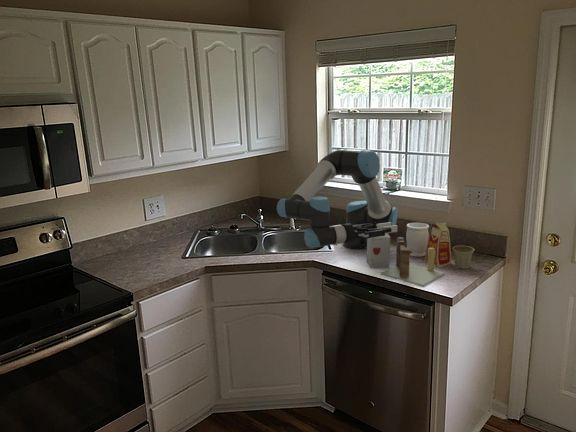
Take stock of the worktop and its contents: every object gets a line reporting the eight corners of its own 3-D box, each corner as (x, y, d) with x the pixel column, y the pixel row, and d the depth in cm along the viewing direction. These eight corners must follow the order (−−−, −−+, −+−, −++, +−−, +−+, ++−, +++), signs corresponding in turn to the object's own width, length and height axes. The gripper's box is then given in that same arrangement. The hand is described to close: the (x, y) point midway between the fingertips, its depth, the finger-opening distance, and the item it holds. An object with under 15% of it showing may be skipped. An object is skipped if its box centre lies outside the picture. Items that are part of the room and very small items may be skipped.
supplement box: (370, 268, 219) (370, 237, 215) (366, 261, 227) (366, 231, 224) (390, 267, 219) (390, 236, 215) (385, 261, 228) (385, 230, 224)
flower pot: (446, 266, 219) (448, 248, 216) (459, 261, 224) (460, 244, 222) (465, 272, 211) (466, 253, 209) (477, 267, 217) (478, 248, 215)
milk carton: (438, 267, 218) (440, 225, 213) (423, 261, 226) (425, 220, 221) (452, 263, 222) (455, 221, 217) (437, 257, 230) (439, 217, 225)
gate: (396, 265, 217) (397, 240, 214) (407, 265, 216) (408, 240, 213) (400, 277, 204) (401, 250, 201) (411, 277, 203) (413, 250, 200)
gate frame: (380, 274, 211) (380, 244, 208) (402, 263, 224) (403, 234, 220) (423, 286, 197) (424, 254, 193) (444, 274, 209) (446, 244, 206)
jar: (425, 251, 240) (427, 222, 236) (429, 257, 230) (431, 228, 226) (404, 250, 241) (405, 222, 237) (407, 257, 231) (408, 228, 227)
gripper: (333, 237, 199) (382, 230, 207) (352, 249, 183) (405, 241, 191) (333, 219, 197) (383, 213, 205) (352, 230, 181) (405, 223, 189)
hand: (393, 226), depth 198 cm, fingers open, 4 cm apart
